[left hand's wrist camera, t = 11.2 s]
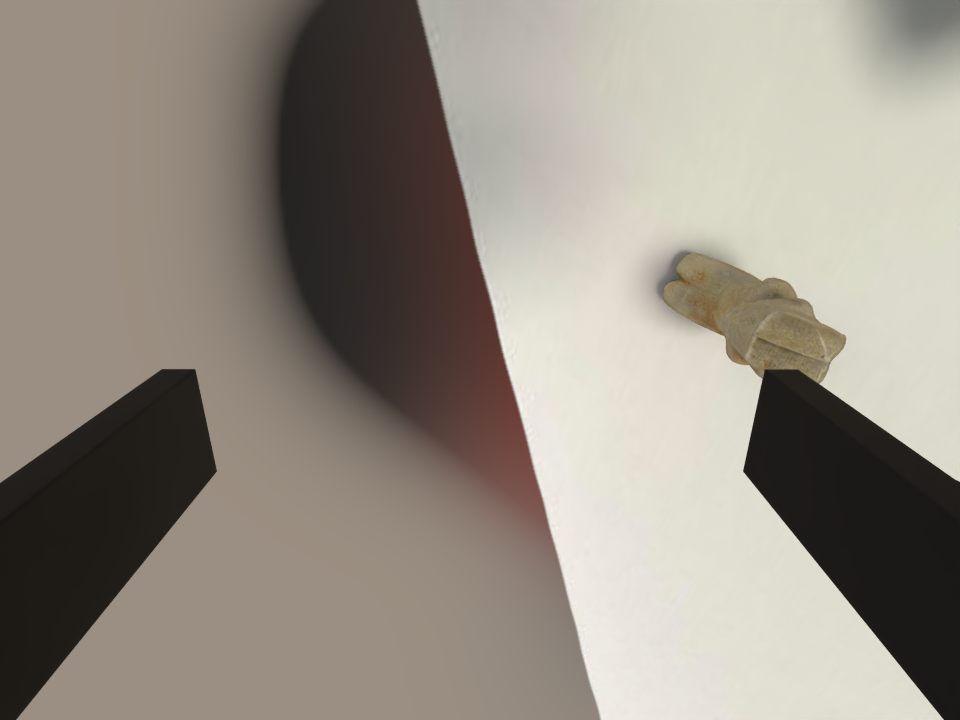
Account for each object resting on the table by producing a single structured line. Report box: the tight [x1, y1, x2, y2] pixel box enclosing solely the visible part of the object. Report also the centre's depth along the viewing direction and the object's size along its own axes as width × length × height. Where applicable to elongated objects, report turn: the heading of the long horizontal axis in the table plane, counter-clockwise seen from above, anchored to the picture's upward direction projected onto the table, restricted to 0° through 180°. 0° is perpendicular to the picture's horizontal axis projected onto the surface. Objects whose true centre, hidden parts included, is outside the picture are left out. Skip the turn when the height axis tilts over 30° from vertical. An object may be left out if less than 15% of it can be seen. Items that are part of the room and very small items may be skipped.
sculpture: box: [663, 253, 846, 384], centre depth 36 cm, size 6×7×15 cm
